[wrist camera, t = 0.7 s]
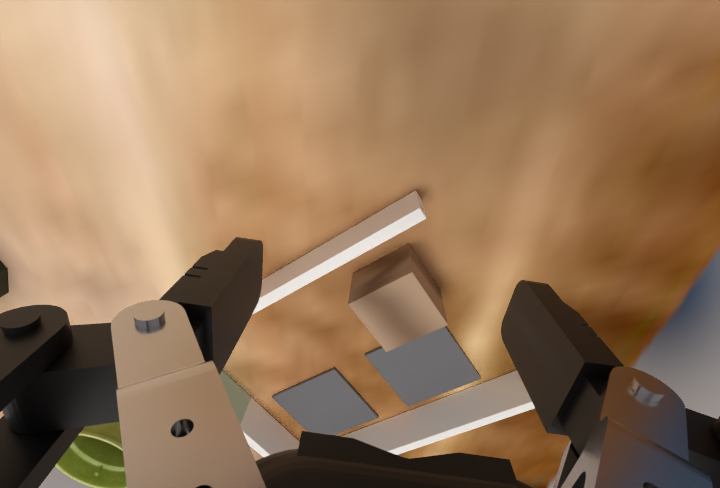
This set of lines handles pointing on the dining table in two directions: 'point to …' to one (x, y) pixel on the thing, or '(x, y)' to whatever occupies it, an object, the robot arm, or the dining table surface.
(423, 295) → the walnut block
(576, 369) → the robot arm
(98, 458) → the plant pot
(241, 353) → the dining table surface
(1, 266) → the wine bottle
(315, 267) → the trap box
